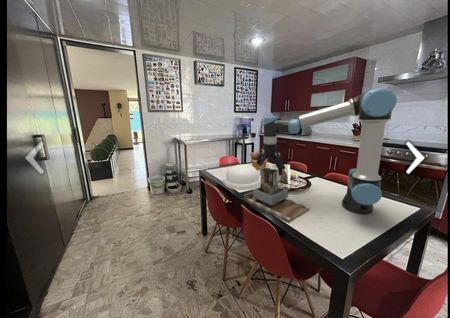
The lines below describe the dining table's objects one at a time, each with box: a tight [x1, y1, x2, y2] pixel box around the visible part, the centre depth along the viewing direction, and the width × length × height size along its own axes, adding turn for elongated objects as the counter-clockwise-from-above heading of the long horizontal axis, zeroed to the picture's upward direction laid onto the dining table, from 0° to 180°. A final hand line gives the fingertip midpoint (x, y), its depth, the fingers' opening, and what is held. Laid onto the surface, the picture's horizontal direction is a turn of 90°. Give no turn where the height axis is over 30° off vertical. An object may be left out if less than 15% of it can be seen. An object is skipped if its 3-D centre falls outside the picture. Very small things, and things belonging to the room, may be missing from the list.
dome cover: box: [222, 163, 261, 191], centre depth 156 cm, size 32×30×14 cm
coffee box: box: [260, 167, 279, 196], centre depth 119 cm, size 9×6×16 cm
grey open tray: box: [252, 186, 289, 208], centre depth 121 cm, size 15×15×8 cm
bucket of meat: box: [249, 146, 268, 171], centre depth 190 cm, size 20×16×20 cm
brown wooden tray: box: [243, 190, 310, 224], centre depth 119 cm, size 34×20×4 cm, turn 37°
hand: (269, 177), depth 118 cm, fingers open, 13 cm apart
